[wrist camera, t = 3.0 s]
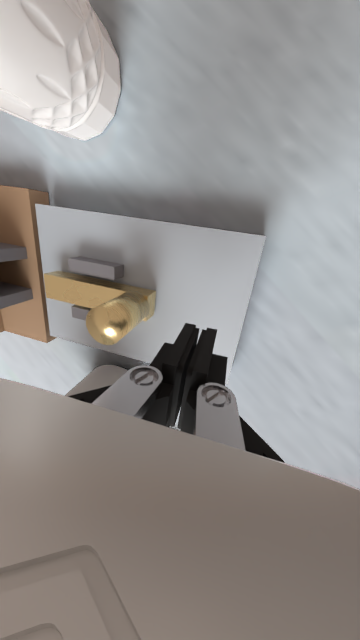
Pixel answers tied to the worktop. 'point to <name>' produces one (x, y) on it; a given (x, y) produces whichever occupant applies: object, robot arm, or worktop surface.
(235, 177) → the worktop surface
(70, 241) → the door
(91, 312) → the bolt
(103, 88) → the white cup
